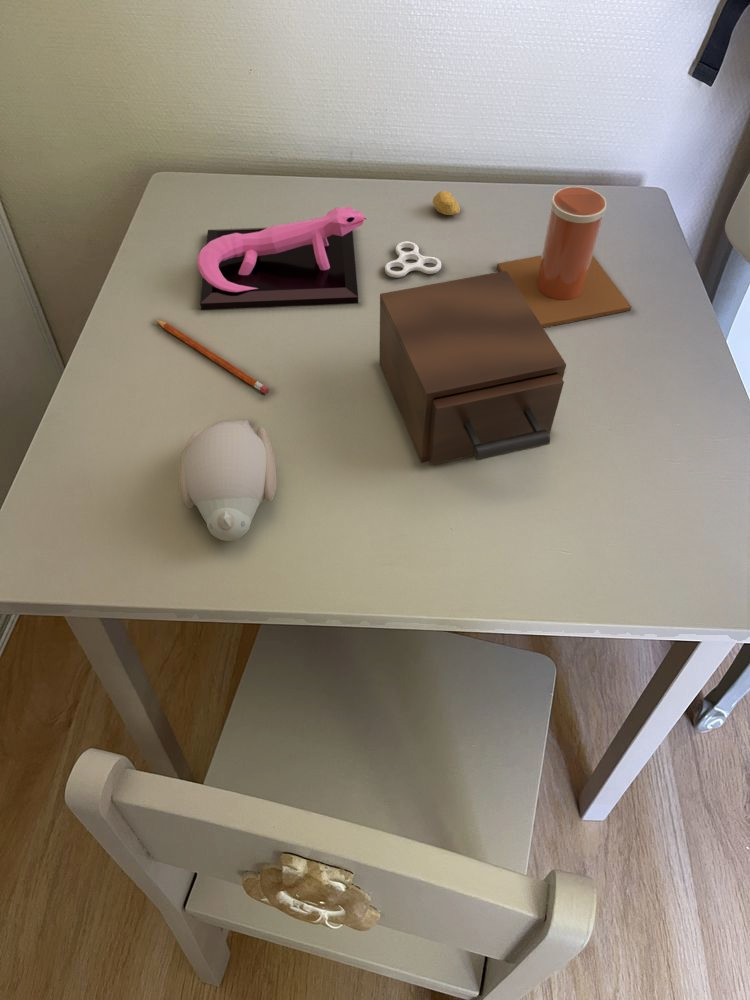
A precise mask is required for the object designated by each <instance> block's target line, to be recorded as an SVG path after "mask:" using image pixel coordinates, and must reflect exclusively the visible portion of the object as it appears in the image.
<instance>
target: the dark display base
mask: <svg viewBox="0 0 750 1000" xmlns="http://www.w3.org/2000/svg"><path fill="white" fill-rule="evenodd" d="M365 220H367V218H366V217H365V216H364V213H363V212H361V211H360V210H355V209H353V207H351V206H346V207H335V208H333V209H331V210H330V211H328V212H327V214H325V215H324V216H321V217H317V218H313V219H308V220H302V221H295V222H294V221H293V222H288V223H282V224H276V225H275V224H274V225H271V226H269V227H245V228H219V229H217V228H216V229H207V235H206V244H205V245H204V247H202V248H201V250H200V251H199V252H198V255H197V261H196V264H197V269H198V271H199V273H200V274H201V277H202V279H201V280H202V281H201V291H200V298H199V299H200V300H199V306H200V310H201V311H205V310H206V311H207V310H231V309H233V310H234V309H255V308H256V309H257V308H281V307H301V306H303V307H304V306H325V305H326V306H327V305H328V306H329V305H331V306H332V305H351V304H353V305H354V304H355V305H356V304H359V289H358V281H357V280H358V279H357V266H356V256H355V254H356V253H355V245H354V243H355V242H354V230H355V229H358V228H359V227H361V226H363V225H364V223H365Z"/></svg>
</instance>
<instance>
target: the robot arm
mask: <svg viewBox="0 0 750 1000" xmlns="http://www.w3.org/2000/svg"><path fill="white" fill-rule="evenodd" d="M734 200H735V201H734V203H733V204H732V207H731V209H730V211H729V213H728V216H727V218H726V221H725V224H724V230H725V235H726V237H727V239H728V241H729V243H730V244H731V246H732V247H733V248H734V249H735V250H736V252H737V253H738V254H739V256H740V257H742V259H743V260H745V262H746V263H747V264H748V265H750V172H749V173H748V175H747V177H746V179H745V181H744V183H743V185H742V187H741V189H740V191H739V192H738V194H737V197H736V198H735V199H734Z"/></svg>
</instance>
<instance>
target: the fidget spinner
mask: <svg viewBox="0 0 750 1000" xmlns="http://www.w3.org/2000/svg"><path fill="white" fill-rule="evenodd" d="M404 248H409V249H412V250H411V251H404V250H402V249H404ZM419 250H420V249H419V246H418V245H417V244H416V243H415V242H412V241H407V240H406V241H401V242H399V243H397V244H396V246H395V253H396V255H397V256H398V258H396V259H393V260H391V261H388V262H386V264H385V266H384V272H385V274H386V275H387V276H388V277H391V278H397V279H398V278H403V277H405V276H406V275H407V274H408V273H409V272H412V271H413V272H414V271H418V272H422V273H424V274H428V275H429V274H430V275H432V274H436V273H438V272H440V270H441V269H442V261H441V260H440V259H439V258H437V257H436V256H435V257H434V256H427V255H423V254H421V253H420V252H419ZM407 260H414V261H416V262H408V261H407ZM430 263H431V264H434V266H432V267H429V266H425V264H430ZM394 267H395V268H396V267H398V268H402V270H398V271H397V270H392V269H391V268H394Z"/></svg>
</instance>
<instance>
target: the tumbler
mask: <svg viewBox="0 0 750 1000" xmlns="http://www.w3.org/2000/svg"><path fill="white" fill-rule="evenodd" d="M607 203H608V202H607V200H606V198H605V196H604V195H602V194H601V193H599V192H598V191H596V190H595V189H592V188H589V187H586V186H585V187H584V186H566V187H563V188H560V189H558V190H557V191H556V192H554V194H553V195H552V197H551V202H550V213H549V216H548V217H549V218H548V224H547V227H546V232H545V237H544V242H543V247H542V252H541V255H540V256H541V261H540V266H539V271H538V276H537V281H536V284H537V287H538V289H539V291H540V292H541V293H543V294H544V295H546V296H548V297H550V298H553V299H557V300H569V299H573V298H576V297H578V296H579V295H580V294H581V293H582V292H583V289H584V286H585V282H586V278H587V274H588V270H589V267H590V263H591V259H592V255H593V256H594V251H595V247H596V243H597V239H598V235H599V232H600V228H601V225H602V222H603V216H604V215H605V213H606V210H607V205H608V204H607Z"/></svg>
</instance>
